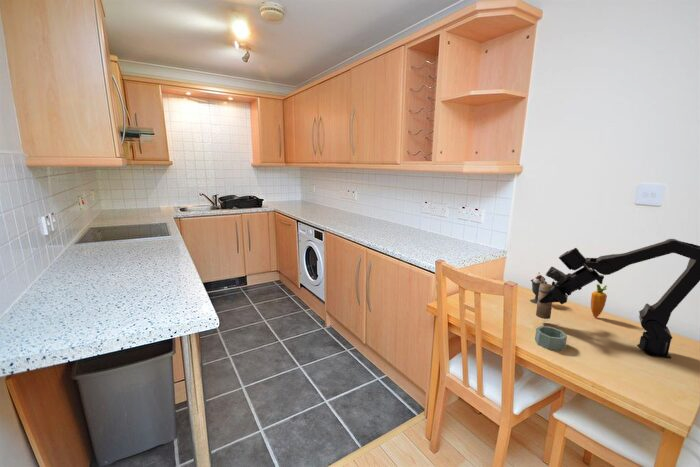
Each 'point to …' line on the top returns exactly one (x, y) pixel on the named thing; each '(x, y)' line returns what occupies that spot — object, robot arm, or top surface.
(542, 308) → the pepper mill
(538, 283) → the sundae
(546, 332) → the pot
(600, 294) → the carrot
